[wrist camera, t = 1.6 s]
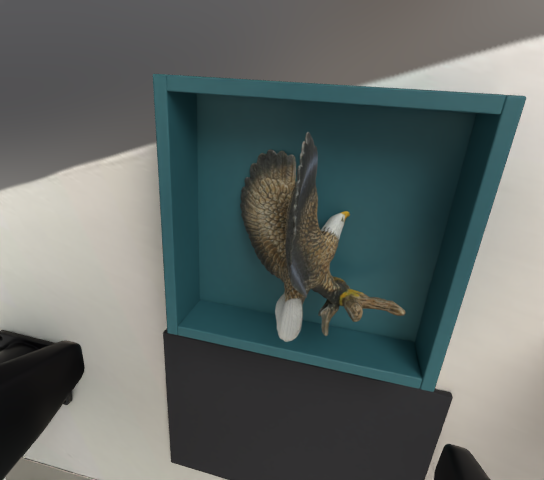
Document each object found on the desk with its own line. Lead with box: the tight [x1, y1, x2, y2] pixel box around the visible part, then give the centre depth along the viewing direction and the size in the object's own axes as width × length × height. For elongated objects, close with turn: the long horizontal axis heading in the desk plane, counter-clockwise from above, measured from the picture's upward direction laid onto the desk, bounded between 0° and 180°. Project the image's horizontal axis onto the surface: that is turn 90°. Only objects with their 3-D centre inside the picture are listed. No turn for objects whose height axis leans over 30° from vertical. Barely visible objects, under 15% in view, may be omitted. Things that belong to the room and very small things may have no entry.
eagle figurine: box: [240, 132, 405, 342], centre depth 17 cm, size 8×7×9 cm
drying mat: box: [163, 330, 453, 480], centre depth 26 cm, size 20×14×1 cm
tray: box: [153, 74, 526, 392], centre depth 19 cm, size 15×14×4 cm
